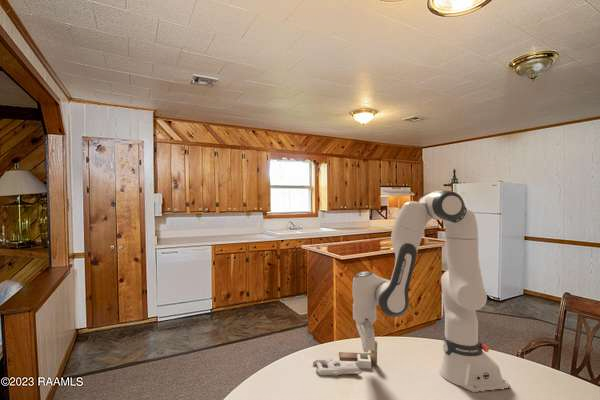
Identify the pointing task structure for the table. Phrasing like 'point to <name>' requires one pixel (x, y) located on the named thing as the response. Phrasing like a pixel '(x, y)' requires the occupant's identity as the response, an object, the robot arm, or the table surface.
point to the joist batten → (350, 355)
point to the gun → (336, 367)
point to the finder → (364, 361)
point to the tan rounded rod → (374, 355)
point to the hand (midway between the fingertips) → (365, 350)
